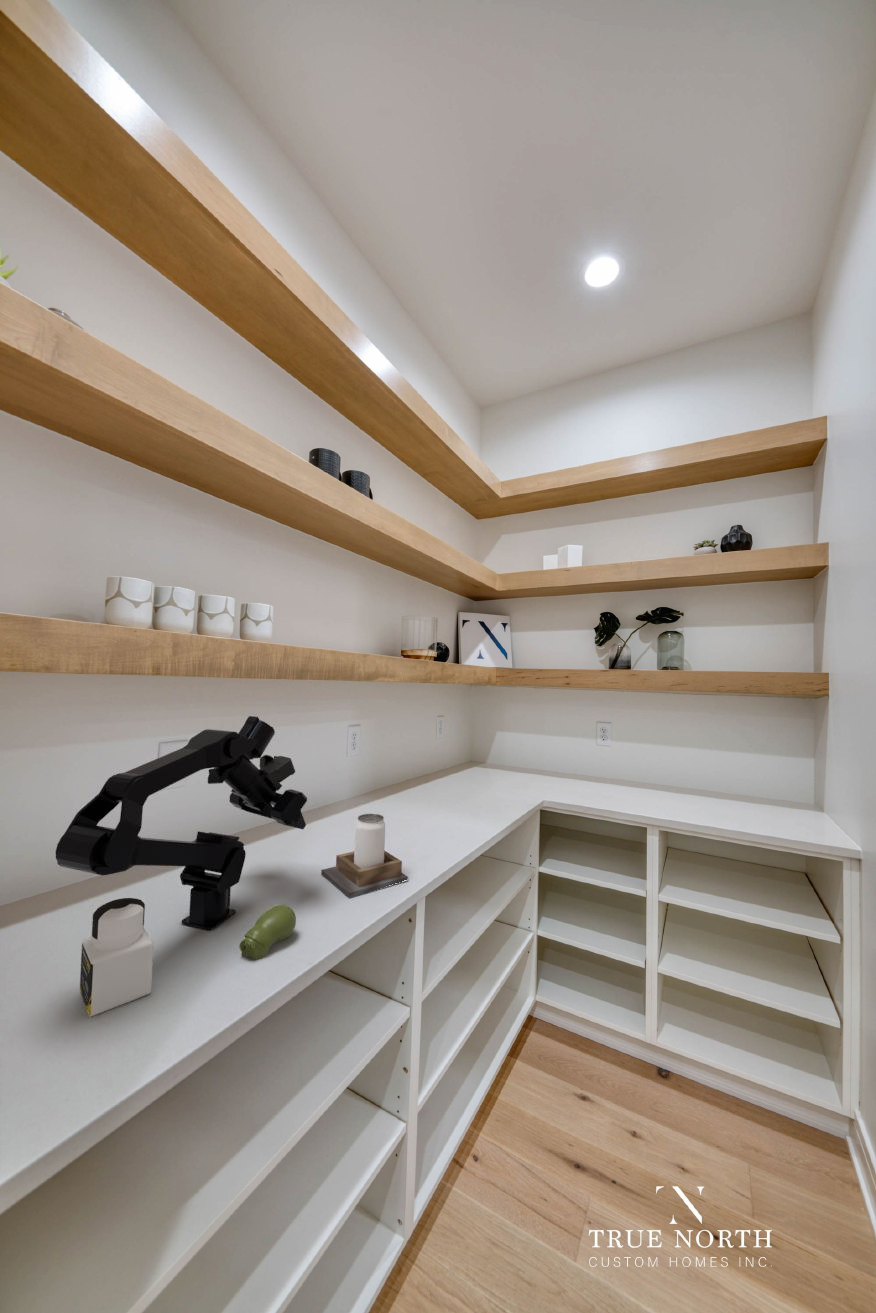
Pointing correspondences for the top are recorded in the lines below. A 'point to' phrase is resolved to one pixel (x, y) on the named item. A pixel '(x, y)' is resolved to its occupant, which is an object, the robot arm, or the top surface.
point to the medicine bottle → (116, 957)
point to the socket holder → (363, 874)
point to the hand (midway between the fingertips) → (290, 822)
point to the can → (369, 840)
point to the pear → (268, 931)
